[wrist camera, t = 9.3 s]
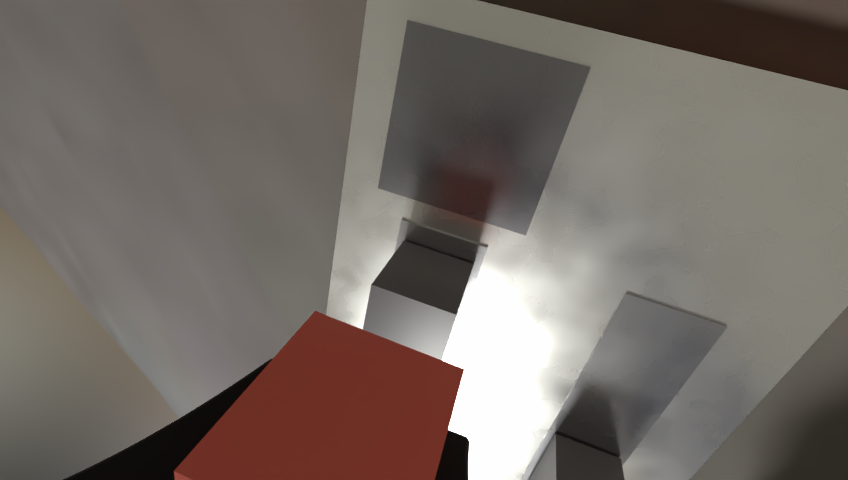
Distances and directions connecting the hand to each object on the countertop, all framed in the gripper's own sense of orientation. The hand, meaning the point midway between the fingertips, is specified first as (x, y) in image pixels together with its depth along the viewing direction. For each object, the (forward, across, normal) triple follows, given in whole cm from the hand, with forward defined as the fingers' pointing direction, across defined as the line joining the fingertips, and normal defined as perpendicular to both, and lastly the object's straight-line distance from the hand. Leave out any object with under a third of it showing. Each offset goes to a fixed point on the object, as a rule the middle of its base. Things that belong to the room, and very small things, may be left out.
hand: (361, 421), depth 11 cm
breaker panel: (+9, -4, +2) cm, 10 cm away
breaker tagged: (+8, 0, +1) cm, 8 cm away
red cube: (+1, 0, 0) cm, 1 cm away
